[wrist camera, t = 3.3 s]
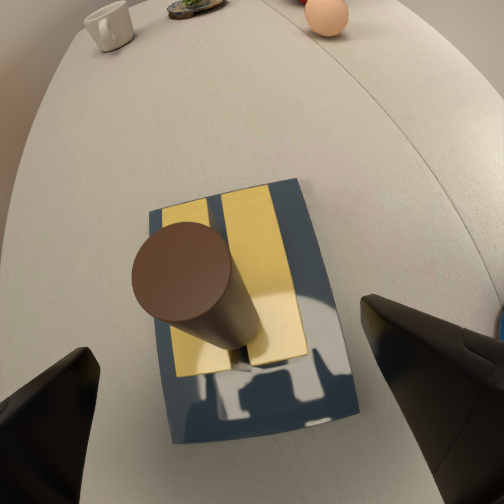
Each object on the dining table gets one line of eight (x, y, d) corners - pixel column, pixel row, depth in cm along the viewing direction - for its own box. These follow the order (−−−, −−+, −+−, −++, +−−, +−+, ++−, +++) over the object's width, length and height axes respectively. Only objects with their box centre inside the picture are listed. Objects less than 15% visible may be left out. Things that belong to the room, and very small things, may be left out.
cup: (138, 48, 36) (123, 9, 28) (94, 68, 35) (75, 31, 28) (139, 29, 40) (127, -4, 33) (101, 45, 40) (86, 15, 33)
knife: (269, 351, 16) (240, 311, 6) (226, 359, 16) (133, 329, 6) (253, 273, 18) (213, 143, 8) (214, 281, 18) (133, 165, 8)
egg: (303, 27, 33) (302, -17, 26) (343, 29, 32) (344, -15, 25) (307, 42, 30) (305, -8, 23) (350, 44, 30) (354, -4, 23)
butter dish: (357, 411, 15) (381, 423, 10) (177, 441, 15) (143, 459, 11) (296, 184, 21) (297, 138, 17) (153, 216, 22) (125, 179, 17)
